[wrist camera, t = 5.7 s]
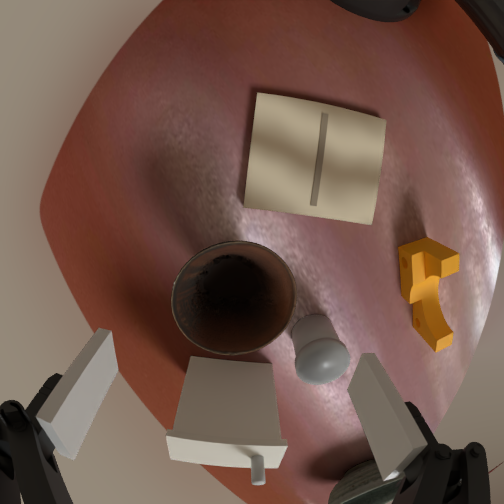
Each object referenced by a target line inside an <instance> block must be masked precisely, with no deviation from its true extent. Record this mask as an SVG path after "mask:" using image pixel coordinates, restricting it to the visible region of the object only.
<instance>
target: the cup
mask: <svg viewBox="0 0 504 504" xmlns="http://www.w3.org/2000/svg"><path fill="white" fill-rule="evenodd" d="M296 301H297V289H296V283H295V280H294V277H293V275H292V272H291V271H290V269H289V267H288V266H287V264H286V263H285V262H284V261H283V260H282V259H281V258H280V257H279V256H278V255H277V254H276V253H274V252H273V251H272V250H270V249H268V248H267V247H265V246H262V245H260V244H257V243H253V242H248V241H228V242H223V243H219V244H216V245H213V246H210V247H208V248H206V249H204V250H202V251H200V252H199V253H197V254H196V255H195V256H194V257H192V258H191V259H190V260H189V261H188V262H187V263H186V264H185V265H184V266H183V268H182V269H181V271H180V272H179V274H178V276H177V278H176V280H175V281H174V285H173V289H172V295H171V307H172V313H173V316H174V319H175V321H176V324H177V326H178V328H179V329H180V330H181V332H182V333H183V334H184V335H185V337H186V338H187V339H189V340H190V341H191V342H192V343H194V344H195V345H197V346H198V347H200V348H203V349H205V350H207V351H210V352H213V353H217V354H222V355H240V354H246V353H250V352H254V351H257V350H259V349H261V348H263V347H265V346H266V345H268V344H270V343H271V342H273V341H274V340H275V339H276V338H277V337H278V336H279V335H281V333H282V332H283V331H284V330H285V329H286V327H287V326H288V324H289V322H290V320H291V318H292V316H293V314H294V311H295V307H296Z"/></svg>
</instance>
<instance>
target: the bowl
mask: <svg viewBox="0 0 504 504" xmlns="http://www.w3.org/2000/svg"><path fill="white" fill-rule="evenodd" d="M404 476H405V473H404V471H403V472H402V473H401V474H400V475H399V476H398V477H396V478H392V479H389V480H385V481H383V479H382V476H381V474H380V471H379V468H378V466H377V463H376V460H370V461H367V462H364V463H361V464H359V465H357V466H355V467H353V468H352V469H350V470H348V471H347V472H346V473H345V475H344V478H342V479H341V480H340V481H339V482H338V483H337V484H336V485H335V487H334V488H333V490H332V492H331V493H330V497H329V501H328V504H386V503H388V502H390V501H392V500H394V497H395V495H396V493H397V491H398V489H399V486H400V485H399V486H397V487H395V485H396V484H397V483H398V482H399V481H400V480H401V479H402V478H403V477H404Z"/></svg>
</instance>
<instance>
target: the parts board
mask: <svg viewBox="0 0 504 504" xmlns="http://www.w3.org/2000/svg"><path fill="white" fill-rule="evenodd" d="M385 130H386V120H384V119H381V118H377V117H374V116H371V115H367V114H364V113H360V112H356V111H353V110H349V109H345V108H341V107H336V106H332V105H328V104H323V103H318V102H313V101H308V100H303V99H298V98H292V97H286V96H279V95H272V94H265V93H257V99H256V107H255V115H254V123H253V131H252V139H251V147H250V155H249V163H248V172H247V180H246V189H245V197H244V206H243V208H252V209H260V210H269V211H277V212H285V213H293V214H300V215H308V216H315V217H322V218H329V219H336V220H343V221H349V222H355V223H362V224H368V225H372V221H373V216H374V210H375V205H376V199H377V193H378V187H379V180H380V173H381V166H382V158H383V149H384V140H385Z"/></svg>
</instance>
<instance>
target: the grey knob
mask: <svg viewBox="0 0 504 504" xmlns="http://www.w3.org/2000/svg"><path fill="white" fill-rule="evenodd" d="M292 341H293V345H294V350H295V354H296V358H295V368H296V373H297V375H298V377H299V378H300V379H301V380H302V381H304V382H305V383H308V384H313V385H320V384H326V383H329V382H332V381H334V380H336V379H337V378H339V377H340V376H341V375H342V374H343V373H344V372H345V371H346V370H347V368H348V366H349V363H350V355H349V352H348V350H347V348H346V346H345V345H344V343H343V342H341V341H340V340H339V338H338V335H337V333H336V331H335V329H334V327H333V325H332V323H331V321H330V320H329V319H328V318H327V317H325V316H323V315H317V314H315V315H309V316H306V317H304V318H302V319H300V320H299V321H298V322H297V323H296V324H295V326H294V327H293V329H292Z"/></svg>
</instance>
